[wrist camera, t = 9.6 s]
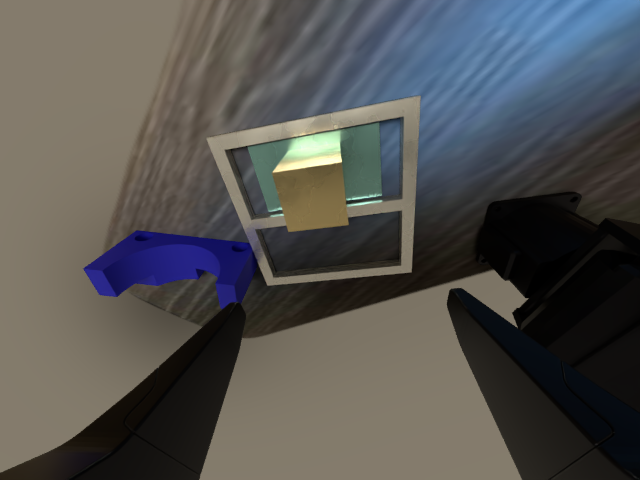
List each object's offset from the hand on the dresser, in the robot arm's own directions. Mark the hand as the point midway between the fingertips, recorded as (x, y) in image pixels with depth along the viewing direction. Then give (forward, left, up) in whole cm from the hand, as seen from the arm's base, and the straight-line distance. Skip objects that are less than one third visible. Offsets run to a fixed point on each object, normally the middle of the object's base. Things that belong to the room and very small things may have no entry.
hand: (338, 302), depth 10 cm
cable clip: (+15, +4, -12) cm, 20 cm away
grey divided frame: (+1, +1, -12) cm, 12 cm away
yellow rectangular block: (+1, -2, -12) cm, 12 cm away
